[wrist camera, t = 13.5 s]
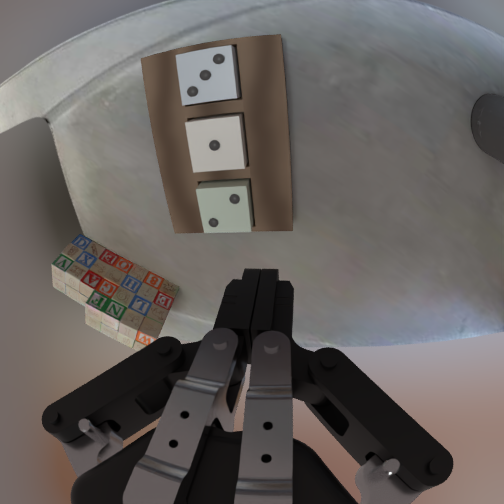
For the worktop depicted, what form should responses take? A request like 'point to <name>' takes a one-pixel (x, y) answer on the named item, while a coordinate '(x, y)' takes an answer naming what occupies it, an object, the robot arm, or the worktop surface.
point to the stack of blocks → (114, 292)
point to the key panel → (250, 103)
